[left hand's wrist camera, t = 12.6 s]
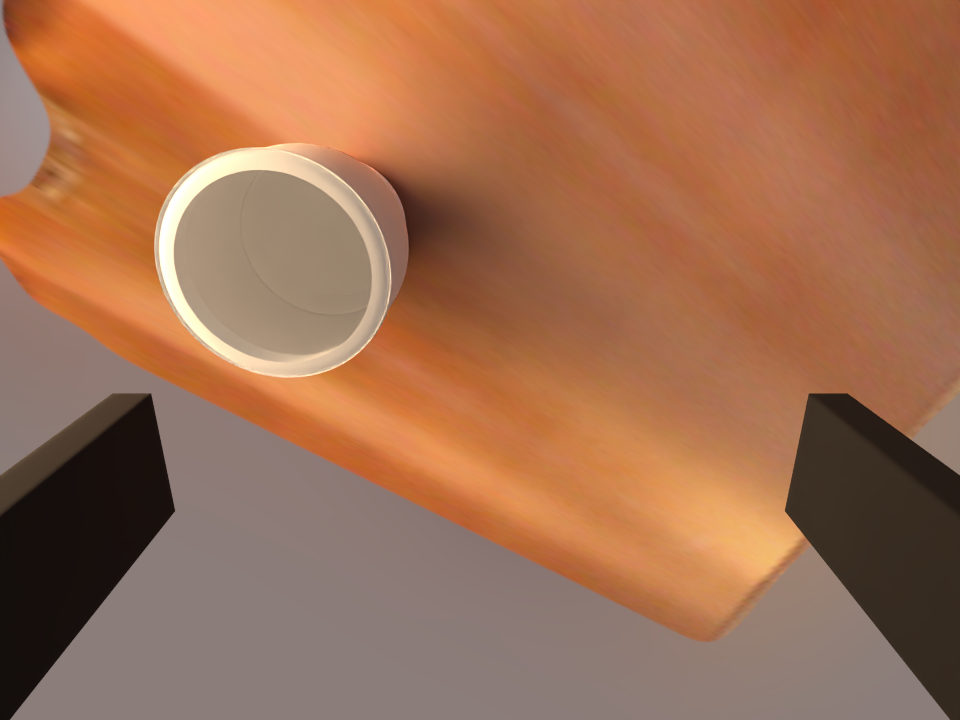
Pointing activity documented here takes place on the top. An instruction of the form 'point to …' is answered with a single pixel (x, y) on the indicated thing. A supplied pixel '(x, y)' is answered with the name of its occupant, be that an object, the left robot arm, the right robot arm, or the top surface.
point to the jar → (282, 256)
